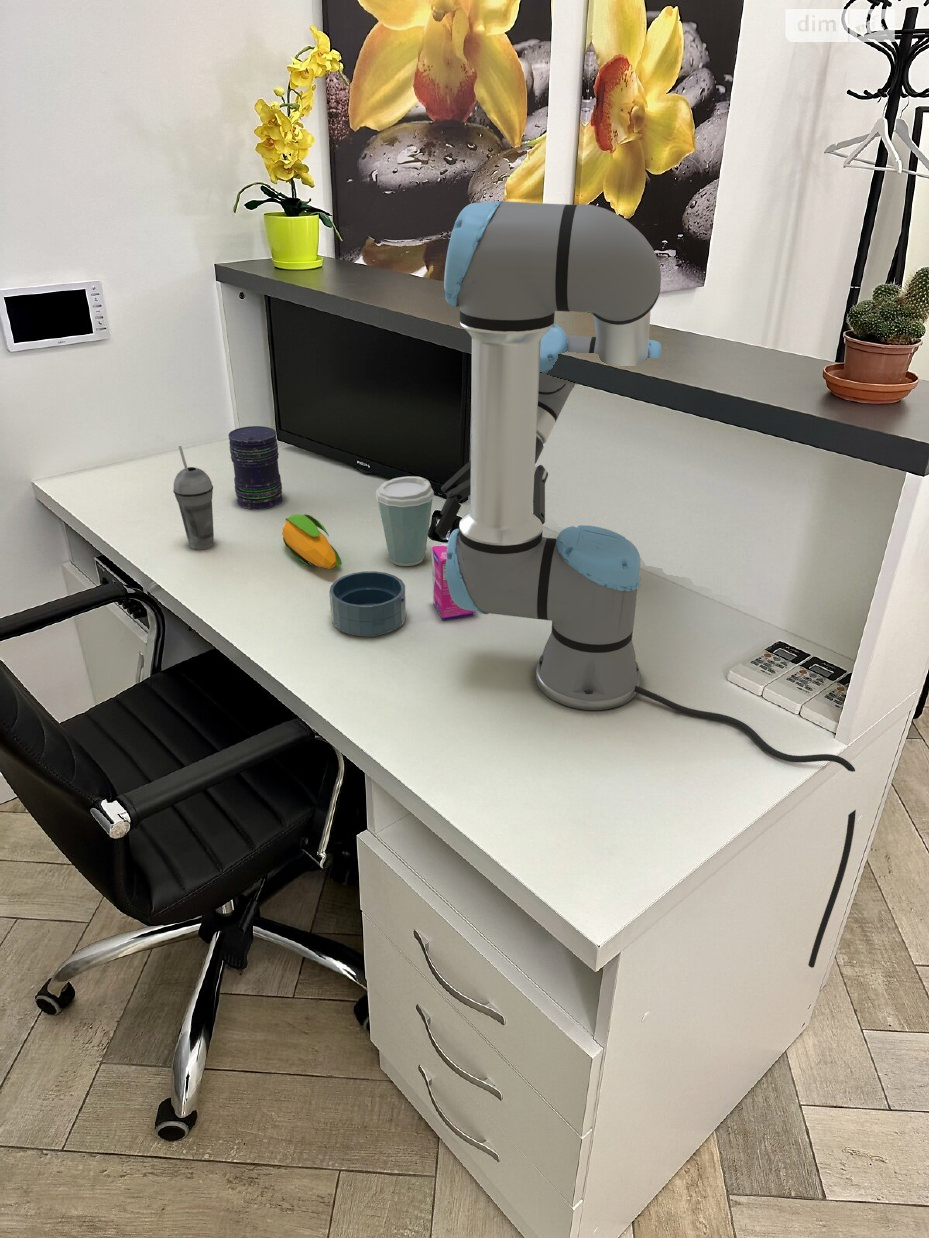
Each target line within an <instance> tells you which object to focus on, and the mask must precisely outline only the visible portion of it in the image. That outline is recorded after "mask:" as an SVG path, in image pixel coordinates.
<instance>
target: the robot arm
mask: <svg viewBox="0 0 929 1238" xmlns="http://www.w3.org/2000/svg"><path fill="white" fill-rule="evenodd" d="M658 259H659V258H658V257H657V254H656V252H655V251H654V248H653V246H652V245H651V244H650V243H649V241H648V240H647V238H646V237H645V236H644V234H642V232H641V231H639V229H637V228H636V227H635V226H634V225H633V224H632V223H631V222H629V221H628V220H627V219H625V218H624V217H622V216H621V215H619V214H617V213H615V212H613V211H611V210H609V209H607V208H604V207H601V206H597V205H593V204H586V203H585V204H584V203H583V204H582V203H578V204H567V203H566V204H565V203H564V204H563V203H541V202H520V201H505V200H498V201H484V202H483V201H482V202H472V203H469V204H467V205H466V206H465V207H464V208H463V209H462V210H461V211H460V212H459V214H458V216H457V217H456V220H455V221H454V225H453V228H452V231H451V235H450V238H449V243H448V246H447V252H446V259H445V266H444V276H443V288H444V299H445V301H446V303H447V304H448V305H449V306H452V307H453V308H458V307H459V325H460V326H461V327H462V328H463V329H464V330H465V331H466V332H467V334H469V336H470V338H471V390H470V391H471V392H470V393H471V396H470V397H471V399H470V401H471V402H470V419H471V420H470V460H469V461H468V462H467V463H466V464H465V465H464V466H462V467H461V468H460V469H459V470H458V471H457V472H456V473H454V475H453V476H451V477H450V478H449V479H448V480H447V481H446V482H445V483H443V484H442V486H441V488H440V490H441V492H442V493H443V494H444V495H445V496H446V500H445V501H444V504H443V505H442V508H441V510H440V515H441V518H440V519H439V521H438V523H437V525H436V527H435V529H434V532H435V533H436V534H437V535H438V536H440V538H442V539H446V538H447V535H448V533H449V531H450V529H451V527H452V526H453V523H454V521H455V520H456V517H457V515H458V513H459V511H460V509H461V507H462V504H461V503H460V502H461V501H462V500H464V499H466V498H467V497H470V501H469V502H470V508H469V509H470V511H469V512H467V514H465V515H464V516H463V517H462V518H461V519H460V521H459V525H458V528H455V529H454V530H452V532H451V533H450V535H449V537H448V539H447V543H446V544H447V560H446V575H447V583H448V588H449V592H450V595H451V597H452V599H453V601H454V603H455V604H457V605H458V606H459V607H460V608H462V609H465V610H471V611H474V612H478V613H479V614H482V615H488V614H492V615H499V616H508V617H516V618H517V617H518V618H524V619H525V618H526V619H534V620H544V621H549V622H551V632H550V635H549V637H548V639H547V641H546V643H545V645H544V647H543V650H542V653H541V655H540V657H539V659H538V661H537V664H536V673H535V675H536V676H535V679H536V684H537V686H538V688H539V689H540V691H541V692H542V693H543V694H544V695H545V696H546V697H548V698H549V699H550V700H552V701H554V702H556V703H557V704H560V705H563V706H566V707H570V708H573V709H577V710H584V711H604V710H609V709H610V710H611V709H615V708H618V707H620V706H623V705H625V704H628V703H629V702H631V700H632V699H634V698H635V697H636V695H637V694H639V695H641V696H644V697H646V698H649V699H650V700H653V701H655V702H658V703H659V704H662V705H664V706H665V707H668V708H670V709H672V710H675V711H677V712H680V713H683V714H686V715H688V716H693V717H698V718H704V719H710V720H717V721H721V722H725V723H728V724H730V725H733V726H735V727H736V728H737V727H738V728H739V729H741V730H743V732H745V733H746V734H747V735H749V737H751V739H752V740H754V742H756V744H757V745H758V746H759V747H760V748H761V749H762V750H764V751H765V752H766V753H768V754H769V755H771V756H772V757H775V758H777V759H779V760H782V761H785V762H789V763H800V764H801V763H812V762H813V763H815V762H816V763H817V762H832V763H833V762H834V763H836V764H839V765H841V766H842V767H844V768H845V769H846V770H847V771H849V772H852V773H854V772H856V768H855V767H854V765H853V764H852V763H851V762H849V761H848V760H847V759H845V757H844V758H843V757H842V756H840V755H836V754H830V753H820V754H819V753H817V754H807V755H793V754H788V753H784V752H782V751H779V750H777V749H776V748H773V747H772V746H771V745H769V744H768V743H767V742H766V741H765V740H764V739H763V738H762V737H761V736H760V735H759V734H758V732H756V731H755V730H754V729H753V728H752V727H750V725H748V724H747V723H745V722H743V721H741V720H739V719H738V718H734V717H733V716H729V715H726V714H722V713H716V712H712V711H704V710H699V709H694V708H691V707H687V706H683V705H681V704H678V703H676V702H674V701H671V700H670V699H668V698H666V697H664V696H661V695H659V694H657V693H654V692H652V691H651V690H648V689H645V688H644V687H641V686H640V682H641V673H640V666H639V665H638V664H639V663H638V662H637V659H636V652H635V647H634V644H633V633H634V625H635V617H636V616H635V615H636V607H637V598H638V597H637V596H638V590H639V589H638V588H639V587H640V585H641V580H642V579H641V575H640V574H641V573H640V572H641V555H640V552H639V550H638V548H637V547H636V545H635V544H634V543H633V542H632V541H631V540H629V539H627V538H626V537H625V536H623V535H622V534H621V533H618V532H616V531H613V530H611V529H607V528H604V527H601V526H594V525H578V526H574V525H571V526H568V527H566V528H564V529H562V530H561V531H560V532H559V533H558V535H557V537H556V538H553V537H545V536H543V530H544V524H545V523H546V483H547V480H548V477H549V472H548V471H547V470H546V468H545V467H544V466H543V464H539V465H537V466H536V464H537V462H538V461H539V458H540V456H541V454H542V452H543V451H544V450H543V449H544V447H545V446H544V444H546V443H547V441H548V440H549V437H550V435H551V433H552V432H553V429H554V427H555V424H556V423H557V420H558V418H559V417H560V414H561V412H562V410H563V408H564V407H565V404H566V402H567V400H568V398H569V396H570V394H571V392H572V391H573V389H575V386H576V385H580V386H583V385H582V384H576V383H573V382H570V381H568V380H562V379H560V378H557V377H552V376H550V375H547V374H546V373H548V371H549V370H551V369H552V368H553V365H554V364H555V362H556V361H557V359H558V354H561V353H565V352H567V351H568V352H576V353H596V354H598V355H599V358H600V360H601V361H602V362H604V363H606V364H609V365H612V366H636V365H639V364H641V363H643V362H645V361H646V360H647V358H659V357H660V356H662V344H661V342H660V341H658V340H653V339H650V328H651V327H650V325H651V313H652V312H651V311H652V310H653V308H654V307H655V305H656V304H657V301H658V299H659V296H660V293H661V287H662V286H661V284H662V272H661V265H660V262H659V260H658ZM556 312H566V313H567V312H569V313H570V312H575V313H590V314H591V315H592V316H593V321H594V331H595V336H588V335H587V336H586V335H573V334H572V335H570V334H566V332H565V331H564V329H563V328H562V327H560V326H559V325H558V324H556V323H555V314H556ZM660 358H661V357H660ZM540 372H542V373H540ZM856 813H857V809H854V810H853V811H851V812H849V814H848V816H847V825H846V833H845V840H844V843H843V850H842V854H841V858H840V862H839V867H838V870H837V874H836V876H835V880H834V883H833V886H832V889H831V892H830V894H829V898H828V900H827V904H826V907H825V909H824V912H823V915H822V918H821V922H820V924H819V927H818V930H817V933H816V936H815V939H814V943H813V946H812V950H811V953H810V956H809V960H808V963H807V965H808V967H809V968H811V969H813V968H815V966H816V965H815V964H816V961H817V958H818V954H819V951H820V947H821V945H822V942H823V938H824V935H825V933H826V929H827V926H828V923H829V921H830V918H831V916H832V912H833V909H834V907H835V904H836V901H837V898H838V895H839V892H840V889H841V886H842V883H843V879H844V877H845V872H846V870H847V865H848V862H849V857H850V854H851V849H852V844H853V839H854V832H855V824H856Z"/></svg>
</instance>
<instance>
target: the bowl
mask: <svg viewBox="0 0 929 1238" xmlns="http://www.w3.org/2000/svg"><path fill="white" fill-rule="evenodd" d="M328 593H329V605H330V616H331V617H330V619H331V621H332V622H331V623H332V624H333V626H334V627H335V628H336V629H338V630H339V631H341V632H343V633H345V634H348V635H351V636H356V637H357V636H358V637H377V636H381V635H384V634H385V635H386V634H388V633H390V632H393V631H395V630H397V629H398V628H399V627H401V626H402V625H403V624H404V623H405V621H406V618H407V606H406V605H407V603H406V600H407V599H406V585H405V583H404V582H403V580H402V579H401V578H399V577H397V576H396V575H394V574H391V573H389V572H384V571H376V570H371V571H370V570H369V571H366V570H365V571H364V570H363V571H358V572H357V571H356V572H352V573H348V574H345V575H343V576H341V577H339V578H337V579H336V580H334V582H333V583H332V584H331V585H330V587H329V592H328Z"/></svg>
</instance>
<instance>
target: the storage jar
mask: <svg viewBox="0 0 929 1238" xmlns="http://www.w3.org/2000/svg"><path fill="white" fill-rule="evenodd" d="M228 440H229V443H228V444H229V453H230V459H231V462H232V467H233V472H234V478H233V482H234V492H235V496H236V498H237V499H236V503H237V505H238V506H239V507H240V508H241V509H242V508H243V509H246V510H251V511H257V510H268V509H271V508H275V507H278V506H279V505H281V504H282V502H283V501H284V500H283V499H284V498H283V495H282V494H283V483H282V477H281V474H280V470H279V468H280V467H279V460H278V459H279V444H278V438H277V431H276V430H275V429H273V428H272V427H268V426H261V425H252V426H251V425H249V426H243V427H238V428H236V429H233V430H231V431H230V432H229V433H228Z"/></svg>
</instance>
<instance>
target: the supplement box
mask: <svg viewBox="0 0 929 1238" xmlns="http://www.w3.org/2000/svg"><path fill="white" fill-rule="evenodd" d="M447 544H448V543H443V544H436V545H432V546H431V575H432V576H431V577H432V605H433V607H434V608H435V610H436V612H437V613H438V614H439V616H440V618H441V620H442V621H448V620H454V619H461V618H468V617H474V616H475V611H471V610H465V609H462V608H460V607H459V606H458V605H457V604H455V603H454V601H453V599H452V597H451V595H450V592H449V588H448V583H447V575H446V560H447Z"/></svg>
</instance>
